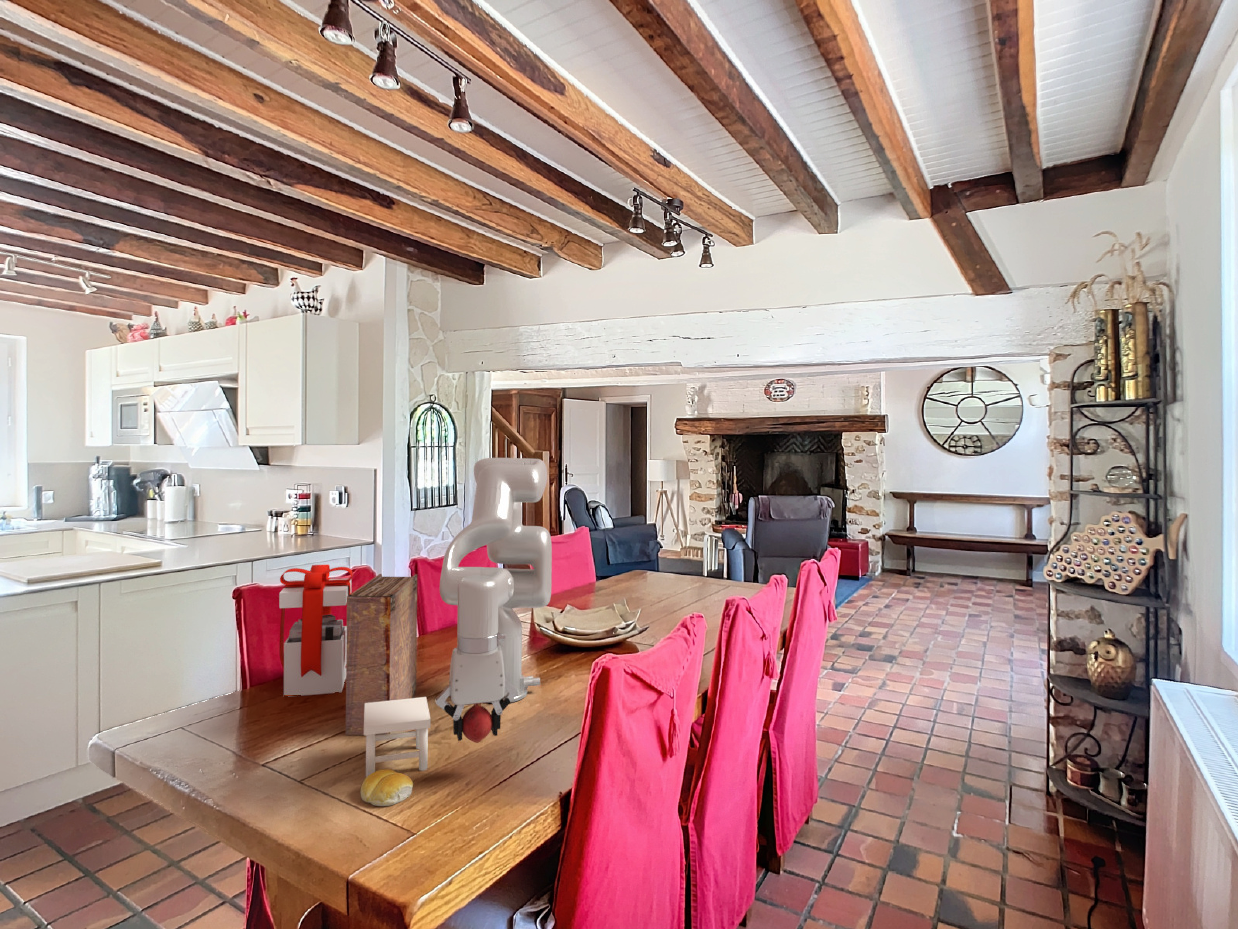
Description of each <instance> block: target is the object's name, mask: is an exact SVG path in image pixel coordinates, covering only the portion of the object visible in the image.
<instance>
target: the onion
mask: <svg viewBox="0 0 1238 929" xmlns="http://www.w3.org/2000/svg"><path fill="white" fill-rule="evenodd" d="M472 705H473V706H472ZM472 705H471V706H470V707H469V708H468V709H467V710H466V712H465V713H463V716H462V717H461V718H462V735H464V737H465V738H466V739H468V740H469V741H471V742H473V743H475V744H479V743H480V742H481V741H482V740H483V739H485V738H486V737H488V735H489V734H490V733H491V732H492V730H491V729H492V725H493V721H492V716H491V711H489V710H488V709H487V708H486V707H484V706H483V705H482V703H479V704H472Z"/></svg>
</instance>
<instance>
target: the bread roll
mask: <svg viewBox="0 0 1238 929" xmlns="http://www.w3.org/2000/svg"><path fill="white" fill-rule="evenodd" d="M413 787H414V781H413V780H412V779H411V777H409V776H408V775H406V774H404V773H401V772H396V771H395V770H393V769H390V768H385V769H383V768H382V769H378V770H375V772H373V773H372V774H370V775H369V776H368V777H366V776H365V779H364V780H363V781H362V784H361V787H360V798H361V799H362V801H363V802H365V803H367V804H371V805H373V806H374V807H375V806H376V807H387V806H393V805H397V804H399V803H401V802H403V801H405V800H406V799H408V798H409V797H410V796H411V795H412V792H413ZM407 797H408V798H407Z"/></svg>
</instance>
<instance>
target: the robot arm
mask: <svg viewBox="0 0 1238 929" xmlns="http://www.w3.org/2000/svg"><path fill="white" fill-rule="evenodd" d="M473 477H474V480H475V483H476V488H475V494H474V502H473V509H472V516H471V522H470V523H469V524H468V525H467V526H465V527H464V528H463V529H462V530H460V531H459V532H458V534H456V535H455V537H454V538H453V539H452V541H450V543H449V545H448V547H447V548H446V550H445V552H444V557H443V561H442V566H441V573H440V579H439V595H440V598H441V600H442V602H444V603H446V604H447V605H451V606H457V626H456V628H457V631H456V632H457V634H456V635H457V636H456V638H457V639H456V641H457V643H456V644H457V646H456V647H454V649H452V652H451V659H450V665H449V678H448V680H449V681H448V685H446V687H445V688H444V689H443V690H442V691H440V694H438V696H437V697H435V699H434V700H435V704H436V705H437V706H438V707H439V708H441V710H444V712H445V713H446V714H447V715H449V716H450V717H451V718H452V719H453V720H452V721H453V722H452V724H453V725H452V726H453V727H452V730H453V732H452V733H453V736H455V735H456V738H457V740H458V742H461V741H463V732H462V718H463V717H462V712H463V710H464V707H465V706H467V705H468V706H469V705H474V704H479V703H481V704H486V703H489V704H492V710H491V711H490V714H491V716H492V721H493V725H492V729H491V732H492V736H494V737H497V736H498V730H501V721H502V720H501V717H502V716H501V715H503V711H505V709H506V708H507V707H508V706H509V705H510V703H514V702H518V701H521V700H522V699H524V698H526V696H527V695H528V687H531V686H533V687H535V686H536V687H537V686H541V678H540V677H534V676H533V675H528V676H524V675H523V673H522V659H523V658H522V655H523V652H522V651H523V649H522V648H523V625H522V621H521V618H520V616H518V614H517V613H516V611H515V610H514V609H517V608H519V609H522V608H523V609H524V608H527V609H537V608H538V609H540V608H544V607H547V606H548V605H549V603H550V601H551V597H552V587H553V586H552V584H553V582H552V573H553V571H552V570H553V569H552V562H553V555H552V554H553V550H552V549H553V548H552V546H553V545H552V537H551V533H550V532H549V530H548V528H546V527H543V526H539V525H538V526H537V525H523V523H522V520H523V519H522V518H523V516H522V515H523V514H522V512H523V511H522V510H523V507H522V503H537V502H539V501H541V499H542V497H543V495H544V492H545V489H546V486H547V484H548V468H547V464H546V463H545V462H544V460H542V459H540V458H525V457H523V458H520V457H518V458H517V457H487V458H486V457H485V458H482V459H479V460H477V461H476V462H475V464H474V467H473ZM484 546H486V551H487V557H488V559H489V560H490V561H491V562H492V563H495V564H501V565H530V566H532V568H504V567H493V566H492V567H487V566H485V567H483V566H460V563H461V561H462V560H463V559H464V557H466V556H467V555H468V554H470V553H472V552H474V551H475V550H477V549H479V548H482V547H484ZM449 697H450V701H451V703H452V704H453V705H452V704H451V703H449V702H448V701H446V700H447V699H448V698H449Z"/></svg>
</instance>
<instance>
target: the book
mask: <svg viewBox="0 0 1238 929" xmlns="http://www.w3.org/2000/svg"><path fill="white" fill-rule="evenodd" d="M346 626H347V644H346V679H345V735H346V736H365V735H364V709H365V703H372V702H381V701H391V700H401V699H410V698H414V697H415V694H416V693H417V649H418V648H417V642H418V641H417V638H418V636H417V635H418V628H417V627H418V574H414V575H413V576H383V575H382V573H379V574H378V575H376V576H374V577H373V578H372V579H370V580H369V581H368V582H365V583H364V584H363V585H362V586H360V587H358V588H357V589H356V590H354V591H353V592H351V594H350V595H349V596H347V604H346ZM415 692H416V693H415ZM413 696H414V697H413ZM385 734H392V732H389V733H380V734H375V736H377V735H385Z"/></svg>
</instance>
